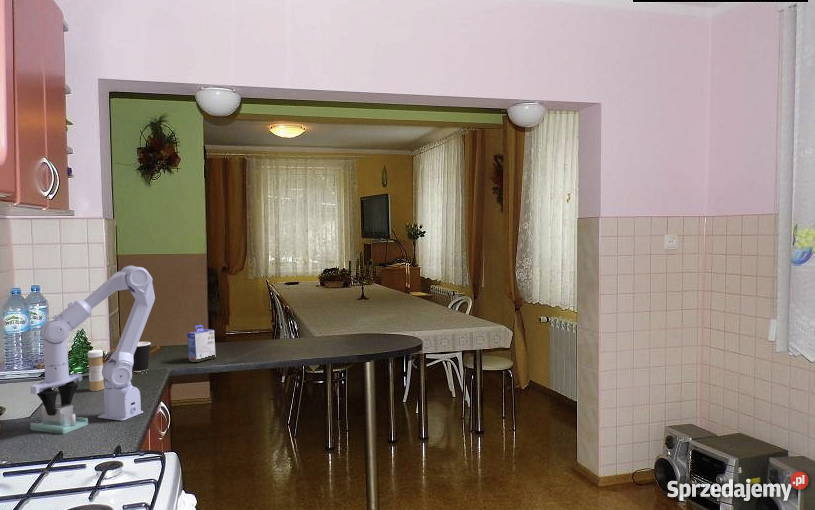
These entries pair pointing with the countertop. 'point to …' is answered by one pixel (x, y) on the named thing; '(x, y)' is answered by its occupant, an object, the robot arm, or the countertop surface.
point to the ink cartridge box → (201, 343)
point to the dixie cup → (141, 357)
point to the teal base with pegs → (75, 424)
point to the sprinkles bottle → (95, 370)
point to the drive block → (58, 415)
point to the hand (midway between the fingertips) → (58, 412)
